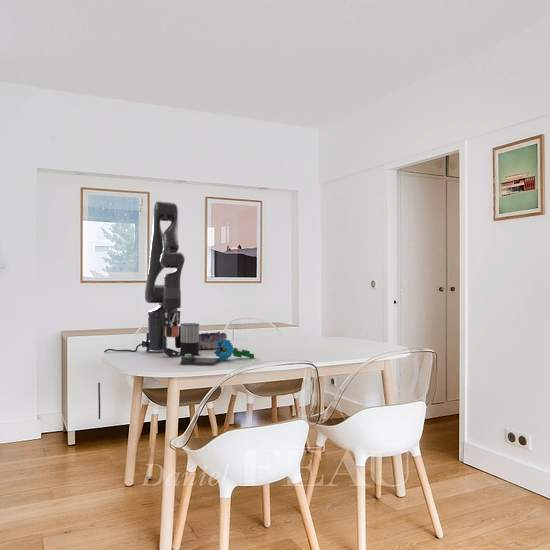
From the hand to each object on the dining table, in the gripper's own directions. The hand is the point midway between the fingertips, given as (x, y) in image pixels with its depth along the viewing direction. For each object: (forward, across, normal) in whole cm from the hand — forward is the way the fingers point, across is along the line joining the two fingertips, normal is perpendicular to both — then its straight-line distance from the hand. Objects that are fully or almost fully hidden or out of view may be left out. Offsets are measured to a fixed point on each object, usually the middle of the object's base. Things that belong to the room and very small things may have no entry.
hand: (171, 335), depth 237 cm
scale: (+11, +2, +14) cm, 18 cm away
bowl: (+1, 0, 0) cm, 1 cm away
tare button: (+9, +6, +10) cm, 14 cm away
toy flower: (+12, -11, +26) cm, 31 cm away
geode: (+12, -43, +2) cm, 45 cm away
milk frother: (+12, -17, -2) cm, 21 cm away
